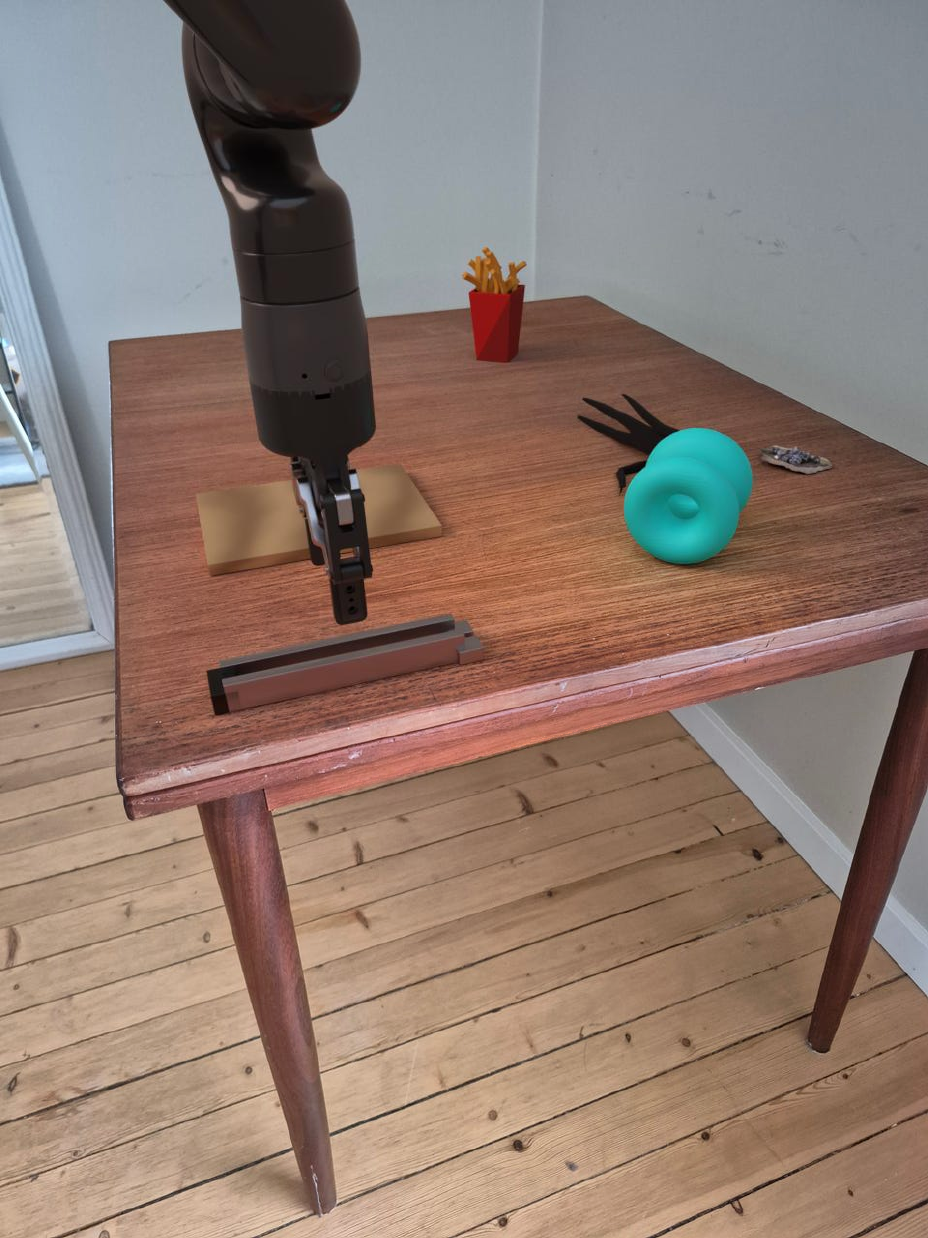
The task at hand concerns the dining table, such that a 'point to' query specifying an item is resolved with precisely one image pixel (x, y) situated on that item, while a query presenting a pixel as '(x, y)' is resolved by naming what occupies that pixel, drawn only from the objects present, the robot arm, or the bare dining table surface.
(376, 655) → the steel tongs
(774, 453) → the crystal mineral rock
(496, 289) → the french fries
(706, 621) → the dining table surface
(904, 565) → the dining table surface
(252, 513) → the cutting board
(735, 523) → the teal yo-yo
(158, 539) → the dining table surface
